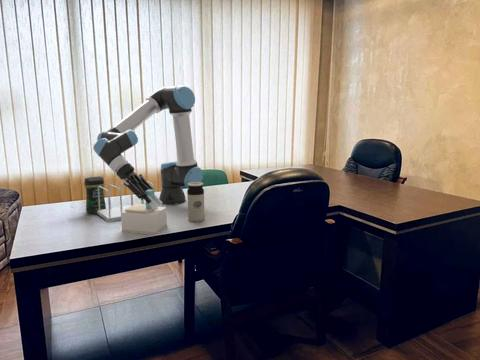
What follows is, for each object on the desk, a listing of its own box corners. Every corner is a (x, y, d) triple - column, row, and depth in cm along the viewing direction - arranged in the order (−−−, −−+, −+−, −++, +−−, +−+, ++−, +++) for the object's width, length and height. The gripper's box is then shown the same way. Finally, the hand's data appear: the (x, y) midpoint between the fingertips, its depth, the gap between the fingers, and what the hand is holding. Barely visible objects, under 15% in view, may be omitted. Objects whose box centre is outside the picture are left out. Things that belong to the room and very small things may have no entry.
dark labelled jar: (188, 217, 187) (187, 182, 183) (204, 216, 188) (203, 181, 184) (187, 222, 179) (186, 185, 176) (204, 221, 180) (203, 185, 176)
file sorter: (108, 222, 180) (106, 190, 177) (97, 214, 193) (94, 184, 190) (156, 213, 195) (155, 183, 192) (143, 206, 208) (141, 178, 205)
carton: (121, 232, 166) (120, 212, 164) (135, 223, 177) (134, 205, 176) (155, 234, 162) (154, 214, 160) (167, 226, 174) (166, 207, 172)
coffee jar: (89, 215, 192) (86, 179, 188) (84, 211, 198) (81, 176, 194) (108, 211, 197) (105, 177, 194) (103, 208, 203) (100, 174, 200)
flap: (125, 211, 165) (123, 191, 163) (136, 205, 174) (135, 186, 172) (148, 212, 162) (146, 193, 160) (158, 206, 172) (157, 188, 170)
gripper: (126, 170, 176) (161, 206, 175) (106, 177, 160) (144, 217, 159) (136, 159, 173) (171, 196, 173) (116, 165, 157) (155, 205, 157)
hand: (158, 206), depth 166 cm, fingers closed on flap, 3 cm apart
